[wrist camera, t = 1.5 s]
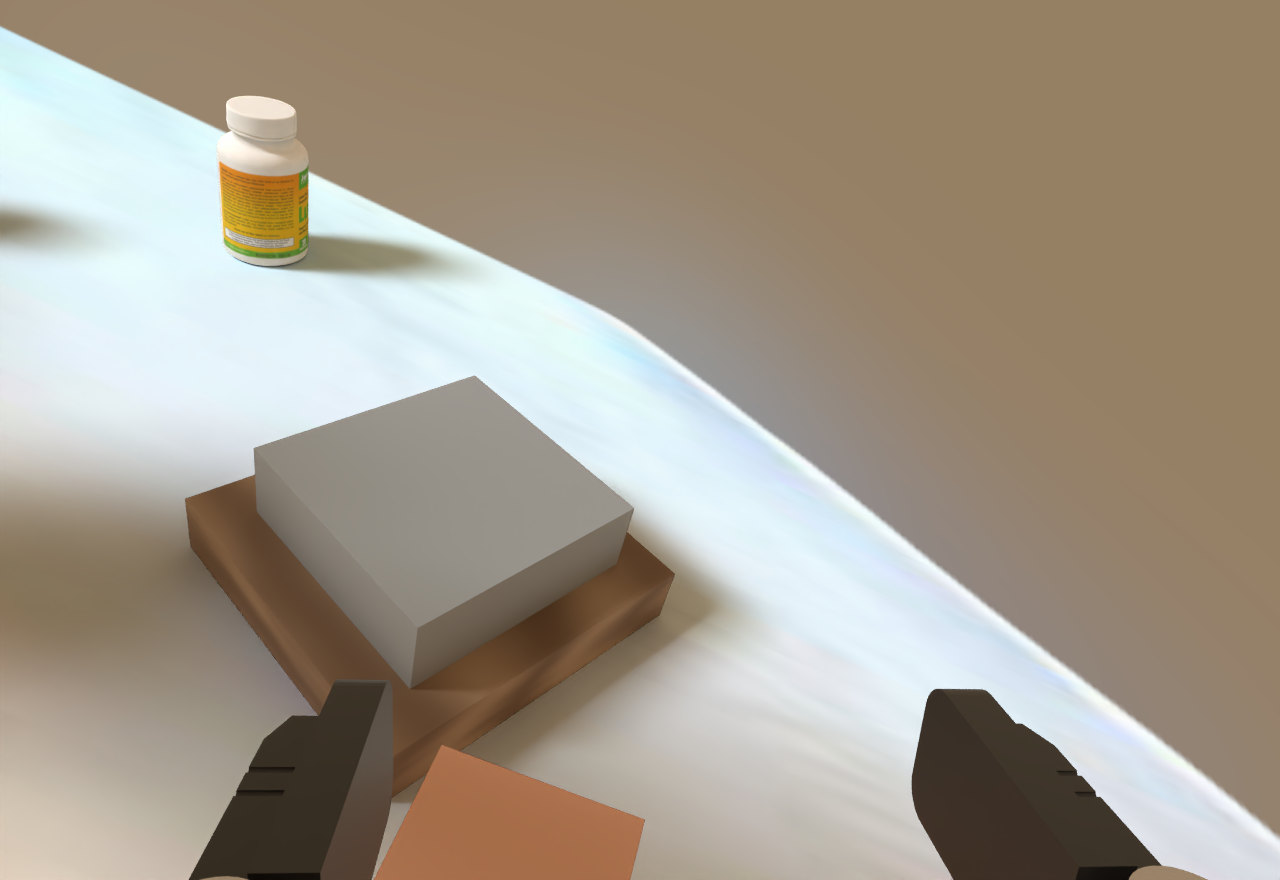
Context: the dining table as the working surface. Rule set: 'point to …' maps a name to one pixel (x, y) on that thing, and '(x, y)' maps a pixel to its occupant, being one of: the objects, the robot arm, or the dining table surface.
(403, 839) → the terracotta block
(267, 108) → the supplement bottle
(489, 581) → the slate top block
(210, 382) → the dining table surface
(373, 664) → the walnut base block
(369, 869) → the robot arm
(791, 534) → the dining table surface
